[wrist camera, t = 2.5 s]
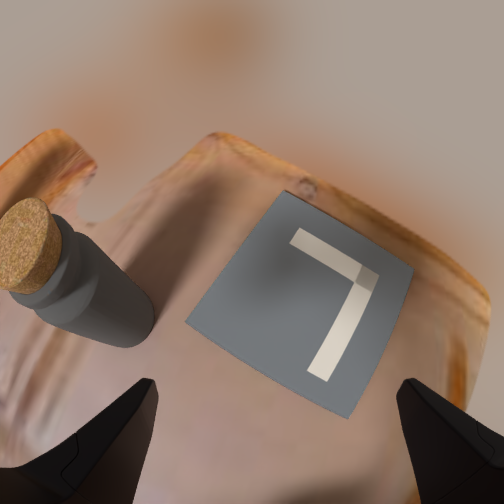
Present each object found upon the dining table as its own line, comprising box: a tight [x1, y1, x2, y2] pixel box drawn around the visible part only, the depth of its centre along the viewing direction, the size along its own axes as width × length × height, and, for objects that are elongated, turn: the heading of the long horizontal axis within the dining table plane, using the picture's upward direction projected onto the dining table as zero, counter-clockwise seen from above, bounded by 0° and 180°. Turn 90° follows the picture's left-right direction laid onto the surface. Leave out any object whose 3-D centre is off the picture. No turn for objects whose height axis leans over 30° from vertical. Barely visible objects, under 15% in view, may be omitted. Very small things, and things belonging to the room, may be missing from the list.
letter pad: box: [185, 191, 414, 419], centre depth 23 cm, size 16×16×1 cm
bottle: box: [0, 198, 154, 348], centre depth 15 cm, size 6×6×15 cm
